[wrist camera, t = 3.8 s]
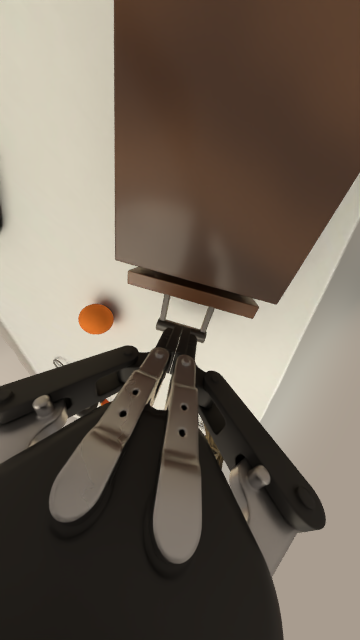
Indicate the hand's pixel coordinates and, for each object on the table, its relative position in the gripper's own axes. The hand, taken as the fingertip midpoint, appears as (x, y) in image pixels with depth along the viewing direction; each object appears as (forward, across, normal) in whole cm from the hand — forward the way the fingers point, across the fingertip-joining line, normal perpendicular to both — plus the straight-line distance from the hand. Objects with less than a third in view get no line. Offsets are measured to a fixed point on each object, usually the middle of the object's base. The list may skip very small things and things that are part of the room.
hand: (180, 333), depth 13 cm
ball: (+8, +14, +7) cm, 18 cm away
